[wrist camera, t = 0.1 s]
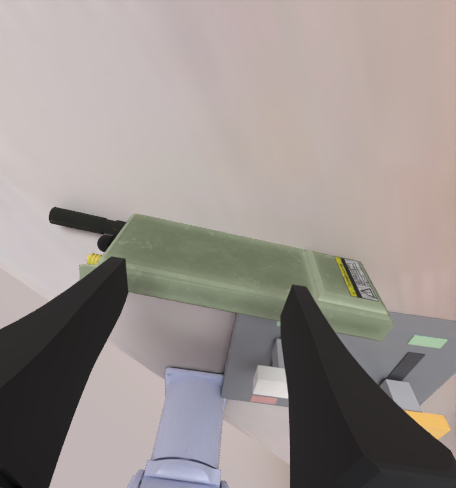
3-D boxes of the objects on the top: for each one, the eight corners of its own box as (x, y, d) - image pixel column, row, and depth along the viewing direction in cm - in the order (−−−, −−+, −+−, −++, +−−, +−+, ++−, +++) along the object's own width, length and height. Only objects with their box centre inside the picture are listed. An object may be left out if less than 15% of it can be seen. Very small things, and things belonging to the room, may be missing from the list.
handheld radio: (348, 285, 26) (63, 225, 24) (366, 256, 24) (59, 189, 22) (376, 349, 20) (7, 277, 18) (402, 317, 18) (-5, 234, 16)
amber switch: (415, 395, 30) (436, 440, 27) (359, 387, 30) (372, 432, 27) (427, 383, 29) (450, 429, 25) (368, 375, 29) (384, 421, 25)
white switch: (314, 358, 28) (322, 403, 24) (252, 349, 28) (252, 393, 24) (322, 343, 26) (332, 388, 23) (257, 334, 26) (258, 378, 23)
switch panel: (394, 405, 36) (401, 423, 34) (221, 381, 36) (220, 398, 34) (474, 323, 27) (489, 343, 25) (241, 291, 26) (240, 308, 25)
